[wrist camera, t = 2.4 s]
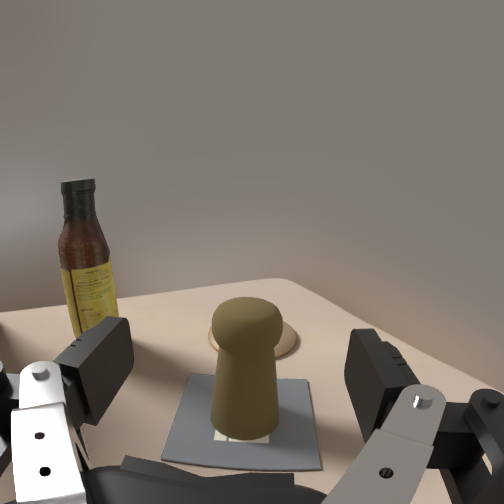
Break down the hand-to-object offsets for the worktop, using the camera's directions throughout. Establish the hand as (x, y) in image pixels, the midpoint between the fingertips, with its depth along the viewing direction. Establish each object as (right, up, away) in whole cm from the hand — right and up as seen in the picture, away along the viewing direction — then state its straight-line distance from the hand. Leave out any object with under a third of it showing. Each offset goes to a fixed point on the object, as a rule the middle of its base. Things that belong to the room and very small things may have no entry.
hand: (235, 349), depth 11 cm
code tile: (0, -11, +15) cm, 18 cm away
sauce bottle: (-19, -8, +25) cm, 32 cm away
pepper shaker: (0, -11, +15) cm, 18 cm away
